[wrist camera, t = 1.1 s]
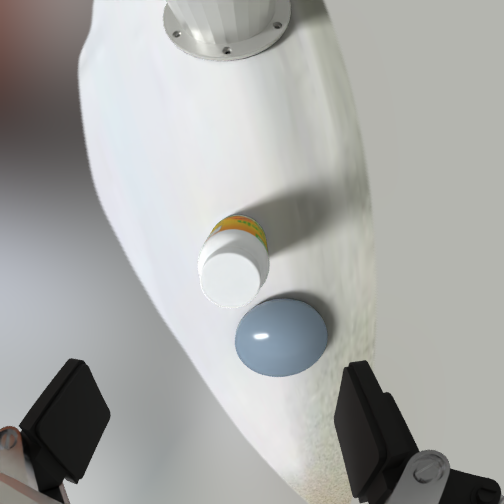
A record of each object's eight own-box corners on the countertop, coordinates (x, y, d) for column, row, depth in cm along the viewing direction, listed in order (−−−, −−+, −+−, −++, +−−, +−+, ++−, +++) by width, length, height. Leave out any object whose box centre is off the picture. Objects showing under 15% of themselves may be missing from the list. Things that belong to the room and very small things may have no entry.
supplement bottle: (277, 238, 27) (289, 277, 18) (241, 278, 29) (236, 331, 19) (234, 202, 26) (223, 223, 17) (199, 244, 28) (173, 285, 18)
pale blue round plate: (232, 298, 29) (231, 304, 28) (327, 293, 29) (331, 299, 28) (239, 370, 32) (238, 378, 31) (321, 365, 32) (323, 373, 31)
